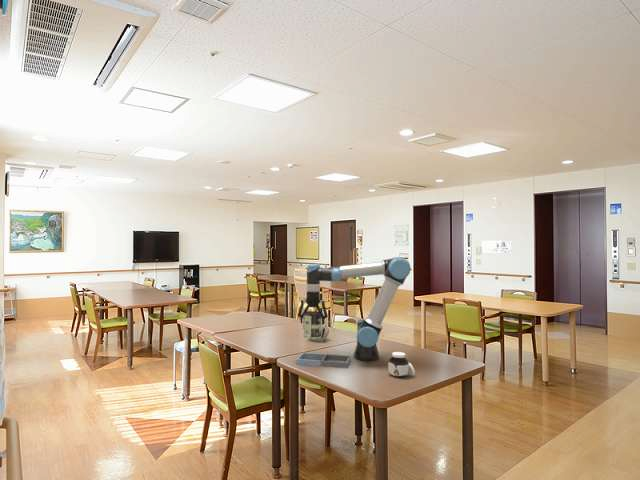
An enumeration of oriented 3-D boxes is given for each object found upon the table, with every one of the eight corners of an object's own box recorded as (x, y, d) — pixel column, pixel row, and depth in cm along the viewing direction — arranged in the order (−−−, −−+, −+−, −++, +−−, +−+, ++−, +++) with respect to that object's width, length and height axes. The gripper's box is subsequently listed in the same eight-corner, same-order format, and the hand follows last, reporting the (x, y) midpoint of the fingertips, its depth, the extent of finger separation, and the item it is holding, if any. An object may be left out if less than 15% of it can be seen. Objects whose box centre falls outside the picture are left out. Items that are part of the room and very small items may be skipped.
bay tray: (350, 360, 243) (350, 355, 243) (347, 368, 228) (347, 363, 228) (302, 357, 248) (302, 352, 248) (296, 364, 234) (296, 359, 234)
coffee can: (322, 335, 244) (323, 311, 244) (319, 339, 234) (319, 314, 234) (305, 334, 246) (306, 310, 246) (301, 338, 236) (301, 313, 236)
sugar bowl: (333, 342, 287) (334, 321, 287) (313, 344, 281) (314, 322, 282) (322, 336, 305) (323, 316, 305) (303, 338, 300) (304, 317, 300)
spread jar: (386, 375, 217) (386, 352, 217) (398, 370, 224) (398, 349, 225) (405, 380, 208) (405, 357, 208) (417, 376, 216) (418, 353, 216)
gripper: (333, 291, 241) (332, 329, 241) (295, 289, 246) (295, 327, 246) (331, 292, 234) (330, 332, 234) (292, 290, 238) (291, 329, 238)
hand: (312, 329), depth 240 cm, fingers closed on coffee can, 10 cm apart
